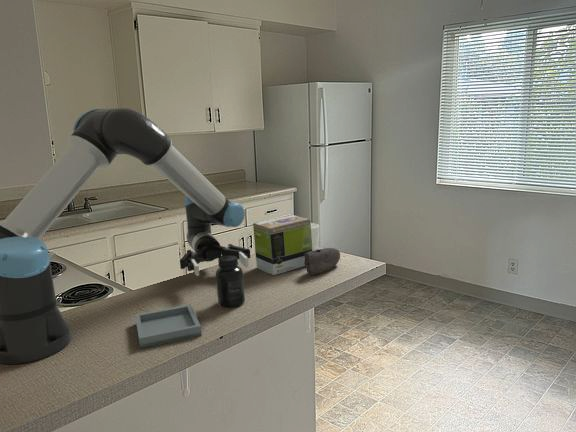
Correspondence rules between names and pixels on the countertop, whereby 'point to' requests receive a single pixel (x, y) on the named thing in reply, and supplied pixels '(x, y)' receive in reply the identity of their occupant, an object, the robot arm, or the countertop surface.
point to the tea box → (282, 243)
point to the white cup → (315, 236)
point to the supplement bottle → (229, 282)
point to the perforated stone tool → (321, 260)
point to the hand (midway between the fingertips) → (222, 266)
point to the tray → (167, 326)
